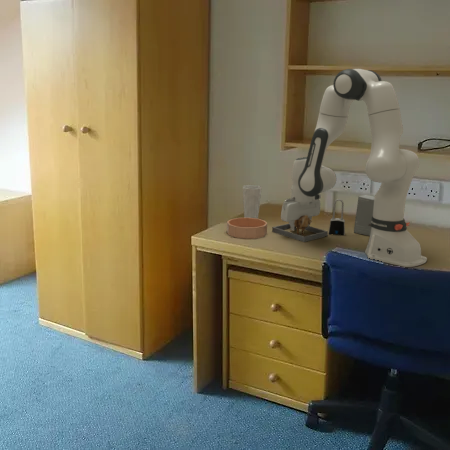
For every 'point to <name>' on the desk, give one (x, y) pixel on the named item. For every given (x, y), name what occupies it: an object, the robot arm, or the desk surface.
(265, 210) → the desk surface
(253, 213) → the cup
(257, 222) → the bowl
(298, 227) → the lion figurine
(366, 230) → the skincare box
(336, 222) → the padlock
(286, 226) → the tray
